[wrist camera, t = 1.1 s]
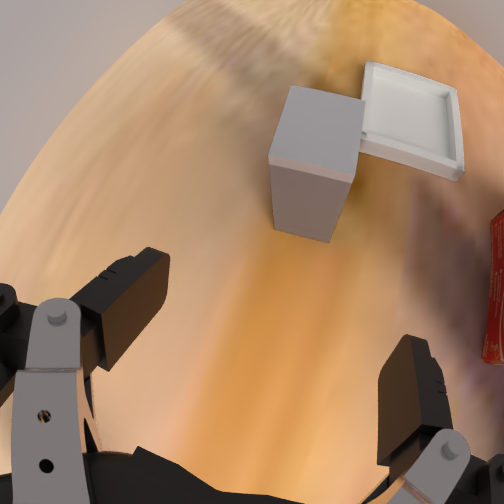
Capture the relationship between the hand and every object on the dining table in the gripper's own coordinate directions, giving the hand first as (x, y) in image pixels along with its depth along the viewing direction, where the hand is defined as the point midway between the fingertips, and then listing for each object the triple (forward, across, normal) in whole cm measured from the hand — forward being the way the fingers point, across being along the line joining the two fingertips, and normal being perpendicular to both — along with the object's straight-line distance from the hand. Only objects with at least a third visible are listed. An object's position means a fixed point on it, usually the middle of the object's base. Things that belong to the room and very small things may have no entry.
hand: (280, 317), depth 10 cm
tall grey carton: (+21, 0, +3) cm, 21 cm away
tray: (+30, -8, -8) cm, 32 cm away
